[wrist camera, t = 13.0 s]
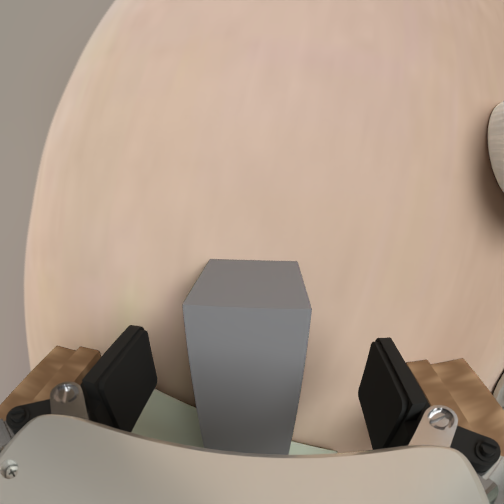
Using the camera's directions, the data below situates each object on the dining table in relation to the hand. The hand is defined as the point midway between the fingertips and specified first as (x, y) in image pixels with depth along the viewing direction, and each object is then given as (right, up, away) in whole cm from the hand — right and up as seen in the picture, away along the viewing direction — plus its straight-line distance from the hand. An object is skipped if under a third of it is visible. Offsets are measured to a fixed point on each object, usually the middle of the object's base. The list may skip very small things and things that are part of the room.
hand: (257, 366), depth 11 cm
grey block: (0, -2, +8) cm, 8 cm away
